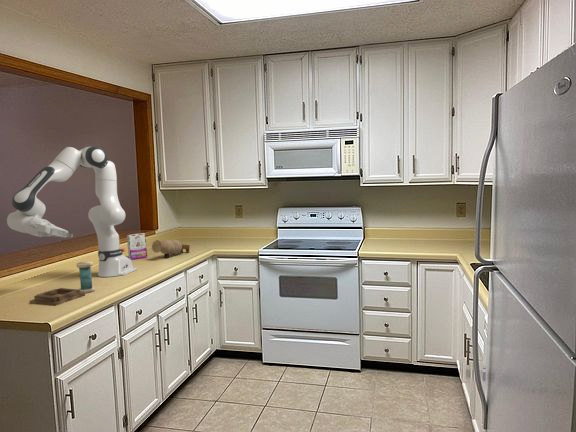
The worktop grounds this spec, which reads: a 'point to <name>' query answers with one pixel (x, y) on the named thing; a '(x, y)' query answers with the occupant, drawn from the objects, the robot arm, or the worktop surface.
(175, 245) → the brown stuffed animal
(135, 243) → the candy bar box
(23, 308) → the worktop surface
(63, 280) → the worktop surface
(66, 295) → the pocket board
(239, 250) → the worktop surface
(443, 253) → the worktop surface
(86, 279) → the bobbin
